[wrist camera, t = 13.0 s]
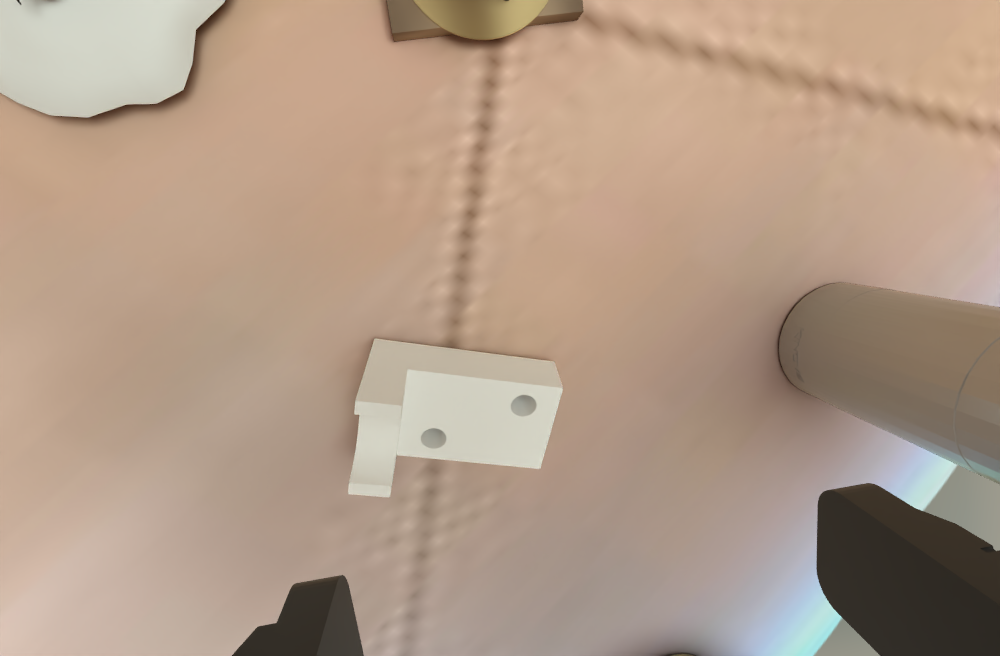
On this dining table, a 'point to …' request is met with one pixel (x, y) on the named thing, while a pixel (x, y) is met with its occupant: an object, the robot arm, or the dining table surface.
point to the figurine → (97, 52)
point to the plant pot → (682, 655)
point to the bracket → (449, 410)
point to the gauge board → (475, 17)
